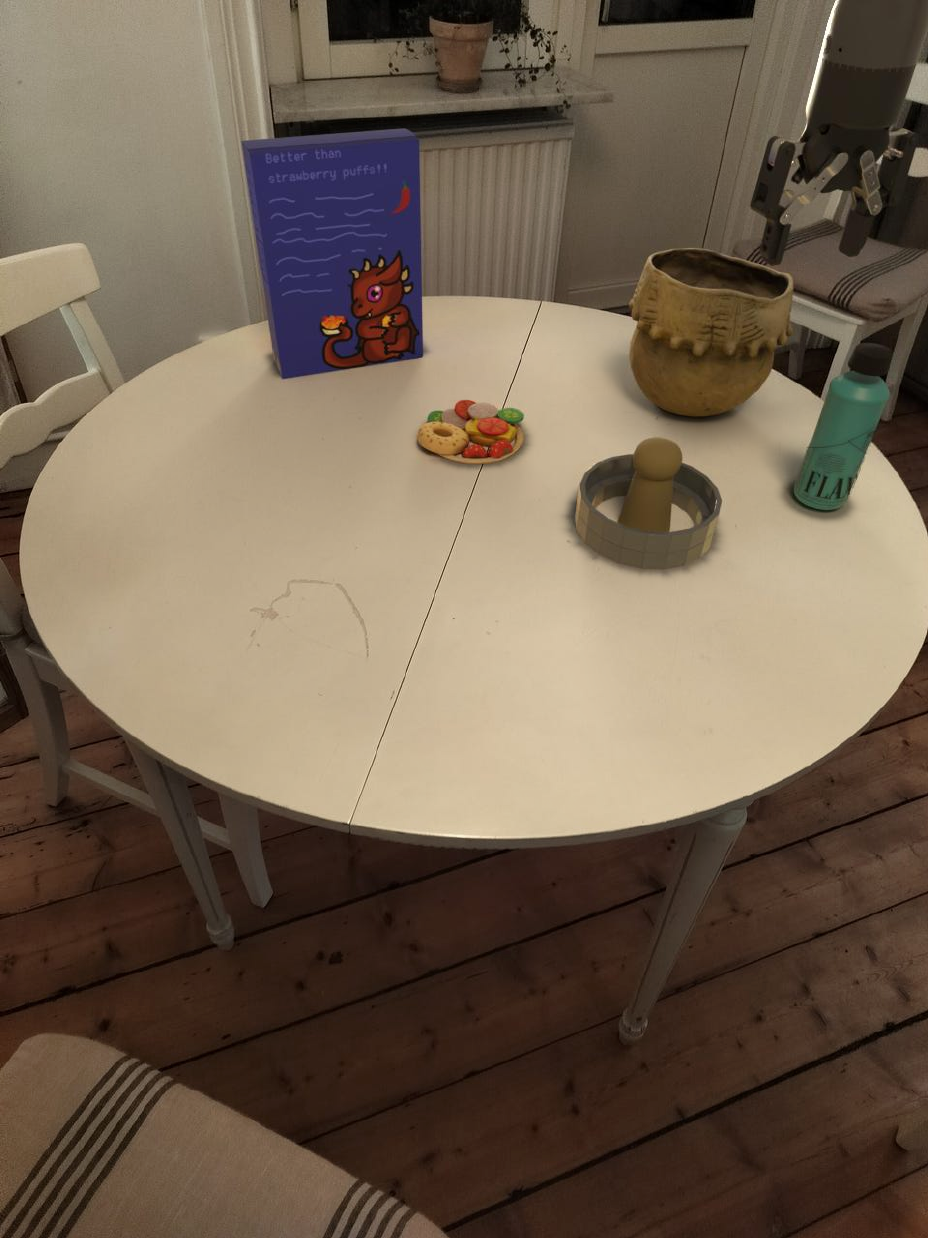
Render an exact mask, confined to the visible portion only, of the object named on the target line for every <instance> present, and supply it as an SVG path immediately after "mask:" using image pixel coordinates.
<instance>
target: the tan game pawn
mask: <svg viewBox="0 0 928 1238" xmlns="http://www.w3.org/2000/svg"><path fill="white" fill-rule="evenodd" d="M633 454H634V455H633V463H634V468H635V469H636V471H635V474H634V477H633V480H632V482H631V485H630V488H629V491H628V494H627V495H626V497H625V499H624V503H623V506H622V508H621V510H620V514H619V517H618V520H617V523H620V524H622V525H624V526H627V527H631V528H635V529H640V530H644V531H653V532H671V521H672V505H673V504H672V493H673V479H674V475H675V474H677V473H678V471H679V469H680V467H681V464H682V463H683V453H682V449H681V448H680V446H679V444H677V443H676V442H674V441H672V440H670V439H667V438H664V437H649V438H648V437H647V438H645V439H643V440H642V441H640V443H638V444H637V446H636V447H635V450H634V451H633Z"/></svg>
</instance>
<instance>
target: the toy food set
mask: <svg viewBox="0 0 928 1238" xmlns="http://www.w3.org/2000/svg"><path fill="white" fill-rule="evenodd" d="M524 419H525V413H523V411H521V410H520V409H518V408H515V407H504V408H500V409H498V407H497V406H496V405H494V404H492V403H489V402H476V401H474V400H471V399H461V400H459V401H457V402H456V403H455V404H454V408H448V409H446V410H444V411H443V410H433V411H430V412H429V413H428V415H427V422H426V423H423V424H422V425H421V426H420V427H419V428H418V431H417V436H416V440H417V443H418V444H419V445H420V446H421V447H423V449H426V450H428V451H429V452H433V453H435V454H437V455H438V456H440V457H441V458H444V459H446V460H449V461H452V462H455V463H461V464H465V465H466V464H467V465H486V464H492V463H496V462H500V461H503V460H506V459H508V458H510V457H512V456H513V455H514V454H515V453H517V452H518V451H519V449H520V448H521V447H522V445H523V442H524V433H523V430H522V429H521V427H520V426H519V425H518V424H520V423H522V421H523V420H524ZM513 441H514V443H513V445H512V444H511V443H512V442H513ZM470 443H471V444H470ZM469 444H470V445H469ZM486 448H489V449H488V450H487V449H486ZM458 455H461V456H458Z"/></svg>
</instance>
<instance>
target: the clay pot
mask: <svg viewBox="0 0 928 1238" xmlns="http://www.w3.org/2000/svg"><path fill="white" fill-rule="evenodd" d="M793 293H794V279H793V276H791V274H790V273H787V272H781V271H779V270H776V269H774V268H771V267H769V266H766V265H763V264H759V263H756V262H753V261H750V260H747V259H743V258H740V257H735V256H730V255H727V254H724V253H720V252H718V251H715V250H712V249H708V248H697V247H685V248H670V249H667V250H662V251H657V252H655V253H652V254H650V255H648V257H647V260H646V262H645V264H644V267H643V269H642V272H641V275H640V278H639V281H638V283H637V286H636V288H635V290H634V294H633V296H632V298H631V299H630V300H629V303H628V307H629V309H630V310H631V318H632V320H633V321H634V322H635V321H636V322H637V323H636V327H635V329H634V331H633V334H632V336H631V340H630V345H629V354H628V356H629V363H630V368H631V372H632V375H633V377H634V379H635V381H636V384H637V386H638V387H639V389H640V390H641V391H642V393H643V394H644V396H645V397H646V398H647V399H648V400H649V401H650V402H652V403H653V404H654V405H655V406H657V407H659V408H661V409H662V410H664V411H666V412H667V413H671V414H674V415H681V416H686V417H696V418H697V417H709V416H716V415H720V414H724V413H726V412H728V411H731V410H734V409H735V408H737V407H739V406H740V405H742V404H743V403H745V402H746V401H747V400H748V399H750V398H751V397H752V396H753V395H754V394H755V393H756V392H758V391H759V390H760V388H761V387H762V386H763V384H764V383H765V382H766V381H767V379H768V378H769V377H770V374H771V373H772V369H773V366H774V359H775V352H776V350H777V349H778V345H779V346H784V345H785V344H787V343H788V337H792V335H793V333H794V330H793V328H792V326H791V312H792V307H793V297H794V296H793V295H794V294H793Z"/></svg>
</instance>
